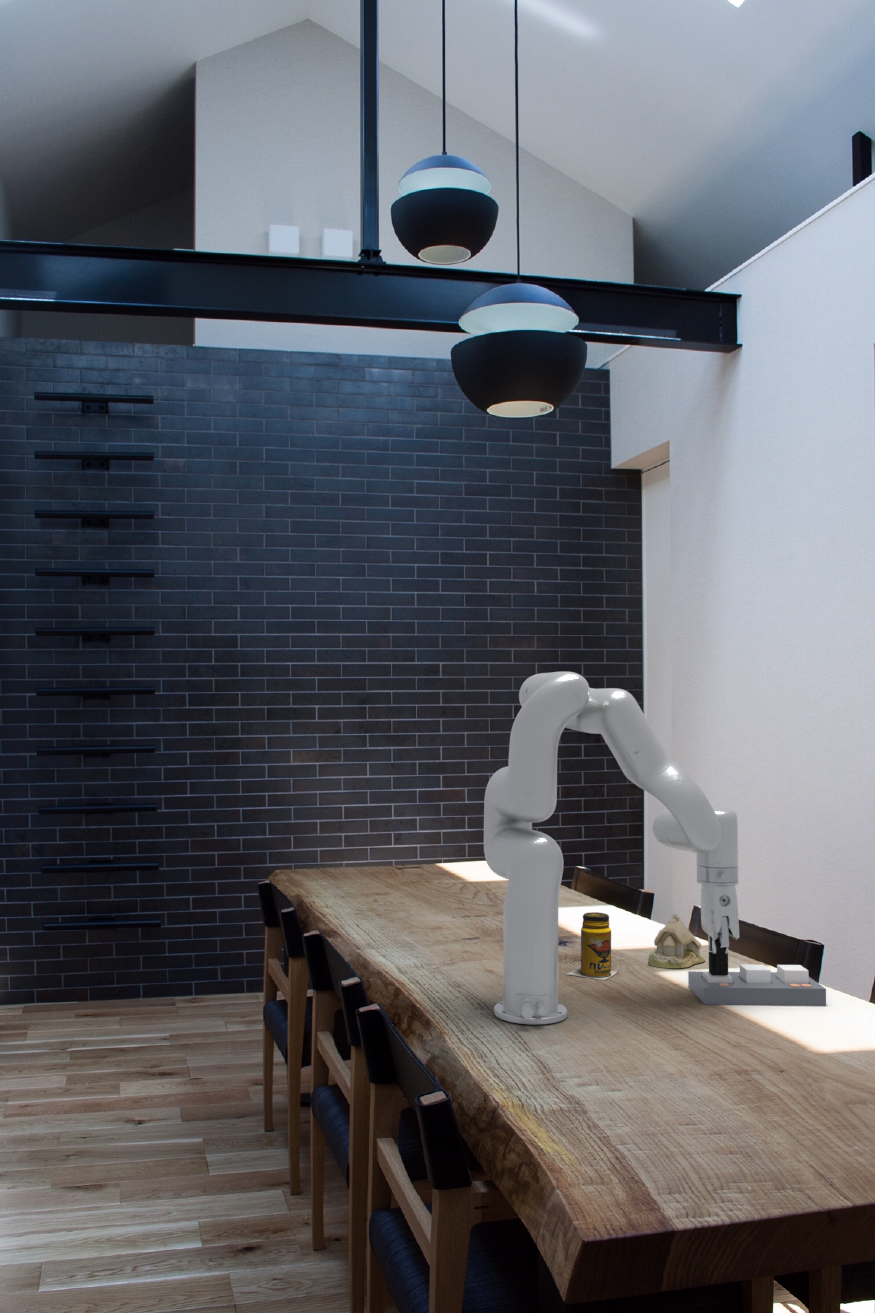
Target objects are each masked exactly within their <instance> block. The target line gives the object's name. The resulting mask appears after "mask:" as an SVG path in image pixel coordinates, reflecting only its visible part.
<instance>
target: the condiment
mask: <svg viewBox="0 0 875 1313" xmlns="http://www.w3.org/2000/svg"><path fill="white" fill-rule="evenodd" d="M582 918H583V919H582V927H581V928H580V965H579V966H577V967H576V968H575V969H574V970H571V971H570V972H568V973H566V975H570V976H575V977H576V976H577V977H583V978H588V979H595V980H600V981H601V980H603V981H604V980H608V979H610V978H612V977H613V976H614V975H616V974H617V973H618V971H617V970H616V971H615V970H614V971H613V970H612V929H611V928H610V916H609V914H607V913H603V912H597V911H596V912H585V913H584V914H583V915H582Z"/></svg>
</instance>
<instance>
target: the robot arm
mask: <svg viewBox="0 0 875 1313" xmlns="http://www.w3.org/2000/svg"><path fill="white" fill-rule="evenodd" d="M518 698H519V703H520V706H521V708H520V710H519V711H518V713H517V715H516V717H515V718H514V721H513V724H512V727H511V731H510V735H509V736H510V737H509V747H508V766H504V767H501V768H499V769H498V770H496V772H494V773H493V774H492V775H491V776H490V778H489V780H488V783H487V784H486V788H485V792H484V803H483V806H484V808H483V812H484V813H483V853H484V857H485V858H484V859H485V861H486V864H487V866H488V867H489V869H490V870H491V872H493V873H494V874H495V875H497V876H499V877H501V878H503V879H506V880H508V884H507V889H506V892H505V896H504V897H505V898H504V902H503V913H502V914H503V918H502V919H503V920H502V921H503V922H502V924H503V936H502V937H503V938H502V939H503V940H502V941H503V942H502V943H503V946H502V947H503V950H502V951H503V953H502V954H503V957H502V959H503V962H502V963H503V964H502V966H503V967H502V968H503V969H502V970H503V972H502V978H503V979H502V985H503V986H502V987H503V988H502V1001H500V1002H497V1003H496V1004H494V1007H493V1014H494V1015H495V1016H496V1017H497V1018H498V1019H500V1020H503V1021H504V1022H509V1023H514V1024H521V1025H531V1026H532V1025H538V1026H539V1025H549V1024H554V1023H560V1022H562V1021H563V1020H565V1019H566V1018H567V1016H568V1008H566V1006H565V1005H563V1004H561V1003H559V903H560V891H561V885H562V878H563V873H564V856H563V852H562V849H561V847H560V845H559V844H558V843H557V841H556V840H555V839H553V838H552V837H551V836H550V835H548V834H546V833H544V832H542V831H538V830H535V829H533V824H534V823H541V822H542V823H543V822H544V821H546V820H548V819H549V818H550V817H551V816H552V815H553V814H554V812H555V810H556V807H557V801H558V800H557V799H558V796H557V795H558V794H557V793H558V751H559V750H558V749H559V743H560V738H561V736H562V733H563V731H564V729H565V728H566V729H570V730H573V731H578V732H582V733H588V734H595V735H596V734H597V735H599V734H600V735H601V737H602V738H603V740H604V741H605V742H604V743H606V745H607V746H608V749H609V750H610V751H611V753H612V755H613V756H614V758H615V760H616V761H617V762H616V763H617V764H618V766H619V767H620V768H619V769H621V770H622V773H623V775H624V776H625V777H626V778H627V779H628V780H629V782H631V783H633V784H634V785H635V786H637V787H638V788H640V789H642V790H643V791H645V792H647V793H648V794H650V795H651V796H653V797H654V798H656V799H657V800H658V801H659V802H660V803H661V804H663V806H664V807H666V808H665V809H663V810H662V811H659V813H658V814H656V815H655V818H654V819H653V822H652V825H651V826H652V832H653V835H654V837H655V839H656V840H657V841H658V842H659V843H660V844H661V845H663V846H664V847H667V848H671V849H675V850H681V851H686V852H690V853H695V854H696V883H697V884H698V885H699V884H700V885H701V889H700V892H701V893H700V924H701V929H702V931H704V933H706V934H707V942H708V944H707V945H708V972H709V973H710V974H711V975H713V976H727V975H728V972H729V948H730V941H729V940H730V939H729V938H730V937H731V938H732V939H733V940H738V939H739V938H740V924H739V908H738V907H739V906H738V897H737V896H738V895H737V889H736V888H737V887H736V885H738V884H739V846H738V844H739V841H738V840H739V837H738V836H739V834H738V833H739V832H738V830H739V829H738V825H739V824H738V815H737V813H736V812H735V811H734V810H732V809H729V808H723V807H722V808H720V807H713V806H712V804H711V802H710V801H709V799H708V798H707V796H706V794H705V793H704V791H703V790H702V788H701V787H700V786H699V785H698V784H697V783H696V782H695V780H694V779H693V778H692V777H691V776H689V774H687V773H686V772H685V770H684V769H683V768H681V766H680V765H679V764H678V763H677V762H676V761H675V760H673V759H672V757H670V756H669V755H668V754H667V753H666V751H665V749H664V748H663V745H662V744H661V742H660V740H659V738H658V737H657V734H655V732H654V730H653V728H652V727H651V725H650V723H649V720H648V719H647V718H646V716H645V714H644V712H643V710H642V708H641V707H640V705H639V703H638V702H637V700H636V698H635V697H634V696H633V694H631V693H630V692H629V691H627V690H625V689H622V688H616V687H615V688H614V687H613V688H612V687H609V688H607V687H605V688H604V687H603V688H593V687H590V685H589V682H588V681H587V680H586V678H585V677H583V675H581V674H579V673H577V672H573V671H554V672H542V673H541V672H540V673H537V674H534V675H531V676H529V677H528V678H526V679H525V680H524V682H522V685H521V686H520V689H519V692H518Z"/></svg>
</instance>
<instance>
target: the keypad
mask: <svg viewBox="0 0 875 1313" xmlns="http://www.w3.org/2000/svg"><path fill="white" fill-rule="evenodd" d="M703 972H704V971H691V970H690V971H687V976H688V978H687V979H688V980H687V981H688V982H687V983H688V989H689V990H690V991H691V992H692V993H693V994H694V995H695V996H696V997H697V999H699V1001H700V1002H701V1003H702V1004H703V1005H709V1006H710V1005H716V1006H717V1005H720V1006H722V1005H723V1006H725V1005H727V1006H731V1005H732V1006H801V1007H802V1006H805V1007H806V1006H813V1007H814V1006H817V1007H818V1006H819V1007H820V1006H821V1007H822V1006H823V1007H825V1006H827V988H826V987H824V986H823V985H821V984H820V983H819V982H818V981H815V980H814V979H813V978H811V976H809V984H784V983H782V982H781V981H780V980H778V979H777V971H772V972H771V983H745V982H744V981H743V980H741V979H740V971H728V974H729V975H730V976H731V977H732V978H733V983H707V982H706V981H705V980H704V979H703Z"/></svg>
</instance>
